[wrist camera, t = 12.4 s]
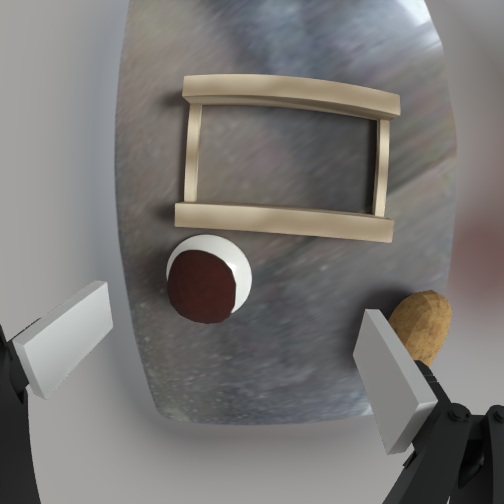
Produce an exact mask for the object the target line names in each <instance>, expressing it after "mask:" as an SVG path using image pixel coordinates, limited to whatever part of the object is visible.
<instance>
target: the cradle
mask: <svg viewBox="0 0 504 504" xmlns="http://www.w3.org/2000/svg"><path fill="white" fill-rule="evenodd" d="M182 97H183V98H185V99H186V100H187V101H188V102H189V103H190V111H189V123H188V136H187V151H186V169H185V192H184V201H183V202H179V203H175V226H177V227H195V228H211V229H227V230H243V231H257V232H271V233H285V234H298V235H310V236H323V237H335V238H346V239H358V240H369V241H379V242H390V243H391V242H392V235H393V228H394V220H392V219H389V218H386V217H384V209H385V199H386V188H387V174H388V156H389V120H392V119H394V118H396V117H398V116H400V95H396V94H392V93H388V92H384V91H380V90H375V89H371V88H366V87H361V86H356V85H350V84H345V83H339V82H332V81H325V80H318V79H309V78H300V77H289V76H275V75H252V74H219V75H195V76H184V83H183V92H182ZM207 105H242V106H268V107H283V108H295V109H305V110H314V111H322V112H330V113H337V114H344V115H350V116H356V117H361V118H367V119H372V120H377V149H376V169H375V183H374V196H373V206H372V214H363V213H354V212H345V211H335V210H325V209H314V208H303V207H291V206H278V205H264V204H248V203H231V202H211V201H196V199H197V176H198V157H199V141H200V127H201V114H202V106H207Z"/></svg>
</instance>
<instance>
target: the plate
mask: <svg viewBox="0 0 504 504" xmlns="http://www.w3.org/2000/svg"><path fill="white" fill-rule="evenodd" d="M186 250H202V251H207V252H209V253H212V254H214V255H216V256H218V257H219V258H221V259H222V260H224V261H225V263H226V264H227V265H228V266H229V267H230V268H231V269H232V272H233V275H234V278H235V282H236V298H235V306H234V308H233V310H232V312H234V311H235V310H237V309H238V308H239V307H240V306H241V305H242V304H243V303H244V302H245V300H246V298H247V297H248V294H249V292H250V288H251V282H252V273H251V268H250V264H249V262H248V259H247V258H246V256H245V254H244V253H243V252H242V250H241V249H240V248H239V247H238V246H237V245H236V244H234V243H233V242H232V241H230V240H228V239H226V238H224V237H222V236H218V235H213V234H201V235H196V236H193V237H190V238H188V239H187V240H185V241H183V242H182V243H181V244H180V245H178V246H177V247H176V249H175V250H174V251H173V253H172V254H171V256H170V258H169V261H168V264H167V274H166V275H167V280H168V275H169V271H170V268H171V265H172V263H173V261H174V259H175V257H176V256H177V255H178V254H180V253H181V252H183V251H186ZM232 312H231V313H232Z"/></svg>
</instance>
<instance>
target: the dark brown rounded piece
mask: <svg viewBox="0 0 504 504" xmlns="http://www.w3.org/2000/svg"><path fill="white" fill-rule="evenodd" d="M167 289H168V296H169V299H170V303H171V305H172V306H173V307H174V308H175V310H176V311H177V312H178V313H179V314H180V315H181V316H183V317H185V318H187V319H189V320H191V321H194V322H199V323H205V324H210V323H219V322H222V321H224V320H225V319H226V318H228V317H229V316H230V314H231V312H232V310H233V308H234V306H235V298H236V282H235V278H234V275H233V272H232V269H231V268H230V267H229V266H228V265H227V264H226V263H225V261H224V260H222V259H221V258H219V257H218V256H216V255H214V254H212V253H209V252H207V251H202V250H186V251H183V252H181V253H180V254H178V255H177V256H176V257H175V259H174V261H173V263H172V265H171V268H170V271H169V275H168V280H167Z"/></svg>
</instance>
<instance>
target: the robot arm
mask: <svg viewBox="0 0 504 504" xmlns="http://www.w3.org/2000/svg"><path fill="white" fill-rule="evenodd" d="M112 328H113V323H112V316H111V310H110V303H109V295H108V287H107V282H103V281H98V280H95V281H94V282H92V283H91V284H89V285H88V286H87V287H85V288H83V289H82V290H80V291H79V292H77V293H76V294H74V295H73V296H72V297H70V298H69V299H67V300H66V301H64V302H63V303H62V304H60V305H59V306H57V307H56V308H55V309H53V310H52V311H50V312H49V313H48V314H46V315H45V316H43V317H42V318H39V319H37V320H36V321H35V322H33V323H32V324H31V326H30V325H29V326H28V327H26V329H24V330H22V331H21V332H20V333H18V334H17V335H16V336H14V337H13V338H12V339H11V340H9V341H8V342H6V339H5V336H4V333H3V330H2V327H1V325H0V504H41V502H40V498H39V493H38V489H37V484H36V479H35V473H34V467H33V461H32V454H31V445H30V434H29V420H28V393H27V390H26V388H25V387H26V386H27V385H28V384H30V386H31V388H32V391H33V393H34V394H35V395H37V396H39V397H41V398H43V399H45V400H47V398H48V397H49V396H50V395H51V394H52V393H53V392H54V390H55V389H56V388H57V387H58V386H59V385H60V384H61V383H62V381H63V380H64V379H65V378H66V377H67V376H68V375H69V374H70V373H71V371H72V370H73V369H74V368H75V367H76V366H77V365H78V364H79V363H80V362H81V361H82V360H83V358H84V357H85V356H86V355H87V354H88V353H89V352H90V351H91V350H92V349H93V348H94V347H95V346H96V345H97V344H98V342H99V341H100V340H101V339H102V338H103V337H104V336H105V335H106V334H107V333H108V332H109V331H110V330H111V329H112ZM353 358H354V360H355V363H356V366H357V368H358V371H359V374H360V376H361V379H362V382H363V385H364V387H365V390H366V393H367V396H368V399H369V402H370V404H371V407H372V410H373V413H374V416H375V419H376V422H377V425H378V428H379V431H380V434H381V437H382V441H383V444H384V447H385V450H386V453H387V455H389V454H396V453H402V452H405V451H406V450H407V448H408V447H409V445H410V444H411V443H412V444H413V446H414V449H415V450H414V451H413V453H412V454H411V455H410V456H409V458H408V459H407V460H406V462H405V463H404V464H403V466H405V467H404V469H403V471H402V472H401V474H400V476H399V477H398V479H397V481H396V483H395V484H394V486H393V488H392V489H391V491H390V493H389V494H388V496H387V497H386V499H385V500H384V502H383V503H382V504H447V501H448V499H449V496H450V500H449V504H504V406H501V405H493V406H491V407H490V408H489V410H488V411H487V413H486V415H471V413H470V411H469V410H468V409H467V408H466V407H465V406H463V405H461V404H458V403H451V401H450V400H449V398H448V397H447V395H446V393H445V392H444V390H443V389H442V387H441V386H440V384H439V382H437V379H436V378H435V376H433V373H432V372H431V370H430V369H429V367H428V366H427V365H425V364H424V363H423V362H422V361H420V360H413V359H412V357H411V356H410V354H409V353H408V351H407V350H406V348H405V347H404V345H403V344H402V342H401V341H400V339H399V338H398V336H397V335H396V333H395V332H394V330H393V329H392V327H391V326H390V324H389V323H388V321H387V320H386V319H385V317H384V316H383V314H382V313H381V311H380V310H375V309H365V312H364V316H363V320H362V324H361V328H360V332H359V335H358V339H357V342H356V346H355V349H354V353H353Z"/></svg>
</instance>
